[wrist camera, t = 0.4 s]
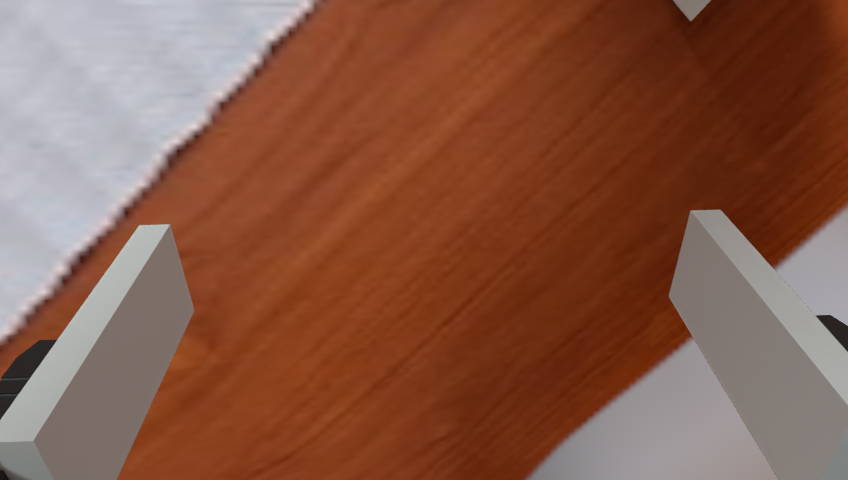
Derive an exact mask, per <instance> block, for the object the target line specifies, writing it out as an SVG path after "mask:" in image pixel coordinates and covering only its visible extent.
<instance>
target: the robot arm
mask: <svg viewBox="0 0 848 480" xmlns="http://www.w3.org/2000/svg"><path fill="white" fill-rule="evenodd" d="M669 298H670V300H671V301H672V303H673V305H674V306H675V308H676V310H677V311H678V313H679V315H680V316H681V318H682V320H683V321H684V323H685V325H686V326H687V328H688V330H689V331H690V333H691V335H692V336H693V338H694V340H695V342H696V343H697V344H698V346H699V348H700V350H701V352H702V353H703V355H704V356H705V358H706V360H707V361H708V363H709V365H710V367H711V368H712V370H713V371H714V373H715V375H716V376H717V378H718V380H719V381H720V383H721V385H722V387H723V388H724V390H725V392H726V393H727V395H728V397H729V398H730V400H731V401H732V403H733V405H734V407H735V408H736V410H737V412H738V413H739V415H740V416H741V418H742V420H743V422H744V423H745V425H746V427H747V428H748V430H749V432H750V433H751V435H752V437H753V438H754V440H755V442H756V443H757V445H758V447H759V448H760V450H761V451H762V453H763V455H764V456H765V458H766V460H767V462H768V463H769V465H770V466H771V468H772V470H773V471H774V473H775V475H776V476H777V478H778V480H848V326H847V325H845V324H844V323H842V322H840V321H839V320H837V319H836V318H834V317H833V316H831V315H822V316H821V315H819V316H815V315H814V314H813V313H812V311H811V310H810V309H809V308H808V307H807V306H806V305H805V304H804V303H803V301H802V300H801V299H800V298H799V297H798V296H797V295H796V294H795V292H794V291H793V290H792V289H791V288H790V287H789V286H788V285H787V284H786V283H785V281H784V280H783V279H782V278H781V277H780V276H779V275H778V273H777V272H776V271H775V270H774V269H773V268H772V267H771V266H770V264H769V263H768V262H767V261H766V260H765V259H764V258H763V257H762V256H761V254H760V253H759V252H758V251H757V250H756V249H755V248H754V247H753V245H752V244H751V243H750V242H749V241H748V240H747V239H746V238H745V236H744V235H743V234H742V233H741V232H740V231H739V230H738V229H737V228H736V226H735V225H734V224H733V223H732V222H731V221H730V220H729V219H728V217H727V216H726V215H725V214H724V213H723V212H722V211H721V210H691V211H690V215H689V219H688V222H687V226H686V230H685V234H684V238H683V242H682V246H681V250H680V254H679V258H678V262H677V266H676V269H675V273H674V277H673V281H672V285H671V289H670V293H669ZM193 312H194V308H193V304H192V301H191V297H190V293H189V290H188V286H187V283H186V279H185V276H184V272H183V268H182V265H181V261H180V258H179V254H178V251H177V247H176V244H175V240H174V236H173V233H172V229H171V226H170V225H139V227H138V228H137V229H136V231H135V232H134V234H133V235H132V236H131V238H130V239H129V241H128V242H127V243H126V245H125V246H124V248H123V249H122V250H121V252H120V253H119V255H118V256H117V257H116V259H115V260H114V262H113V263H112V264H111V266H110V267H109V269H108V270H107V271H106V273H105V274H104V276H103V277H102V278H101V280H100V281H99V283H98V284H97V285H96V287H95V288H94V290H93V291H92V292H91V294H90V295H89V297H88V298H87V299H86V301H85V302H84V304H83V305H82V306H81V308H80V309H79V311H78V312H77V313H76V315H75V316H74V318H73V319H72V320H71V322H70V323H69V324H68V326H67V327H66V329H65V330H64V331H63V333H62V334H61V336H60V337H59V338H58V340H39V341H38V342H37V343H36V344H34V345H33V346H32V347H30V348H29V349H28V350H26V351H25V352H24V353H22V354H21V355H20V356H18V357H17V358H16V359H15V360H14V362H13V363H12V364H11V366H10V367H9V368H8V370H7V371H6V372H5V373H4V375H3V376H2V377H1V378H2V380H1V381H0V480H116V479H117V477H118V475H119V473H120V471H121V469H122V466H123V464H124V462H125V460H126V458H127V456H128V453H129V451H130V449H131V447H132V445H133V442H134V440H135V438H136V436H137V434H138V432H139V429H140V427H141V425H142V423H143V421H144V419H145V416H146V414H147V412H148V410H149V408H150V406H151V403H152V401H153V399H154V397H155V395H156V393H157V390H158V388H159V386H160V384H161V382H162V380H163V377H164V375H165V373H166V371H167V369H168V366H169V364H170V362H171V360H172V358H173V356H174V353H175V351H176V349H177V347H178V345H179V343H180V340H181V338H182V336H183V334H184V332H185V330H186V327H187V325H188V323H189V321H190V319H191V317H192V314H193Z"/></svg>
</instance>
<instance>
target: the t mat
mask: <svg viewBox="0 0 848 480" xmlns="http://www.w3.org/2000/svg"><path fill="white" fill-rule="evenodd" d="M710 1H711V0H673V2H674V3H675V4H676V5H677V6H678V8H679V9H680V10H681V11H682V12H683V14H684V15H685V16H686V17H687V18H688V20H689V21H692V20H693V19H694V18H695V17H696V16H697V15H698V14H699V12H700V11H701V10H702V9H703V8H704V7H705V6H706V5H707V4H708V3H709V2H710Z"/></svg>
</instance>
